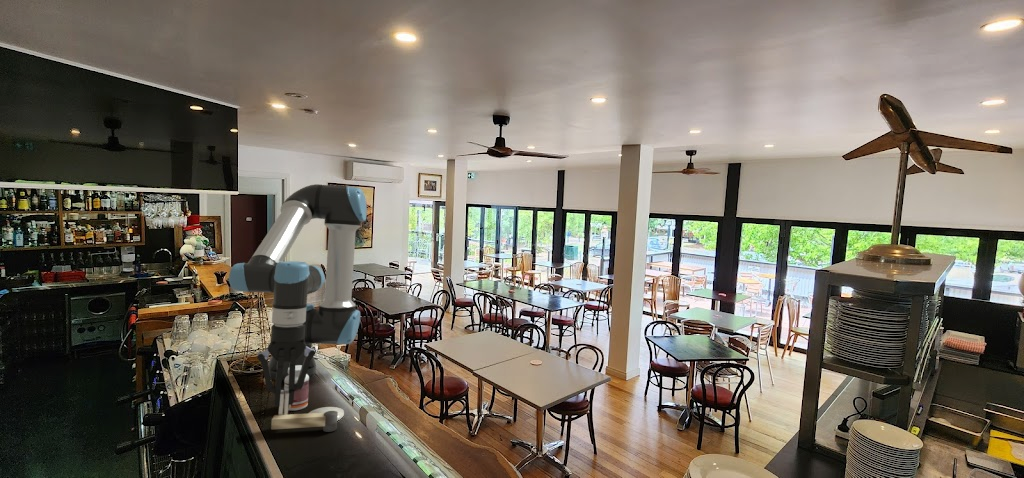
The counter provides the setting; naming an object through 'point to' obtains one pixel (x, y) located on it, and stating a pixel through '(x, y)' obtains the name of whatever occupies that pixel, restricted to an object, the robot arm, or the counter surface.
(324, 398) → the counter surface
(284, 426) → the hinged leg
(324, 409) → the seat pad
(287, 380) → the pill bottle
